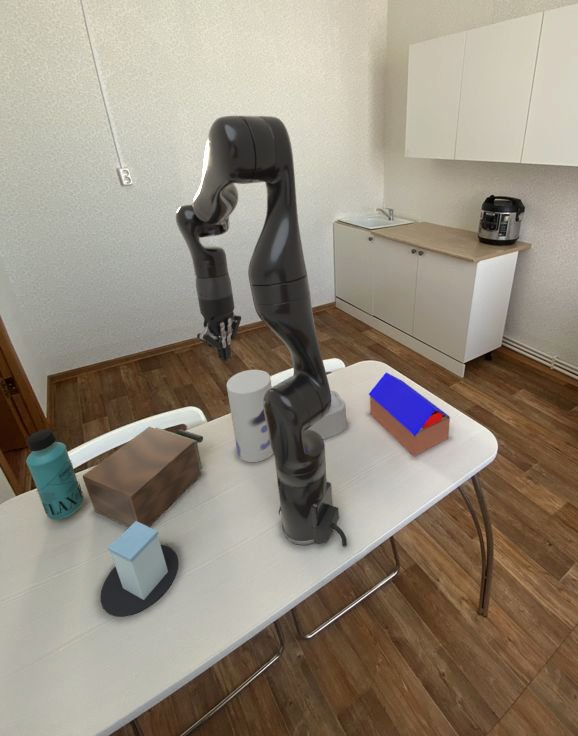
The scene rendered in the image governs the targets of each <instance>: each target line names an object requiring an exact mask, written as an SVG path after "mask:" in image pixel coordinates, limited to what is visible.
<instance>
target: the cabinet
mask: <svg viewBox="0 0 578 736" xmlns="http://www.w3.org/2000/svg"><path fill="white" fill-rule="evenodd" d="M155 428H156V427H152V426H148V427H147V428H145V429H143V430H142V431H141V432H140V433H139V434H137V435H136V436H134V437H133V438H132V439H130V440H129V441H127V442H126V443H125V444H124V445H122V446H121V447H120V448H118V449H117V450H115V451H114V452H112V453H111V454H110V455H109V456H107V457H106V458H104V459H103V460H102V461H100V462H99V463H98V464H96V465H95V466H94V467H92V468H91V469H89V470H88V471H87V472H86V473H84V474H83V475H82V479H83V483H84V485H85V488H86V491H87V494H88V497H89V499H90V502H91V505H92V508H93V511H94V513H97V514H99V515H101V516H103V517H106V518H107V519H109V520H111V521H113V522H116V523H118V524H120V525H123V526H124V527H127V529H128V528H129V527H130V526H131V525H132V524H133V523H134V522H135V521H137V522H139V523H141V524H143V525H146V526H148V527H150V528H151V526H152V525H153V524H154V523H155V522H156V521H157V520H158V519H159V518H160V517H161V516H162V515H163V514H164V513H165V512H166V511H167V510H168V509H169V508H170V507H171V506H172V505H173V504H174V503H175V502H176V501H177V500H178V499H179V498H180V497H181V496H182V495H183V494H184V493H185V492H186V491H187V490H188V489H189V488H190V487H191V486H192V485H193V484H194V483H195V482H196V481H197V480H198V479H199V478H200V477H201V475H202V472H201V469H200V468H199V463H198V458H197V454H196V449H195V444H194V441H191V440H188V439H185V438H182V437H179V436H176V435H173V434H170V433H167V432H164V431H161V430H158V429H155Z"/></svg>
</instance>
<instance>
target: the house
mask: <svg viewBox="0 0 578 736" xmlns="http://www.w3.org/2000/svg"><path fill="white" fill-rule="evenodd" d="M368 395H369V414H370V416H371V417H372V418H374V419H375V420H376V421H377V422H378V423H379V425H381V426H382V427H383V428H384V430H386V431H387V432H388V433H389V434H390V435H391V436H392V437H393V438H395V441H397V442H398V443H399V444H400V445H402V447H403V448H405V450H407V452H408V453H409V454H411V455H412V456H413V457H416V456H419V455H420V454H423V453H424V452H426V451H428V450H429V449H432V448H434V447H436V446H438V445H440V444H441V443H443V442H445V441H447V440H448V439H449V434H450V420H451V416H450V415H449V414H447V413H446V412H445V411H444V410H442V409H441V408H439V407H438V406H436V404H434V403H433V402H431V401H430V400H429V399H427V398H426V397H424V395H422V394H421V393H419V392H418V391H417V390H415V389H414V388H412V387H411V386H410V385H409V384H407V383H406V382H405V381H404V380H402V379H400V378H398V377H396V376H395V375H392V374H391V373H389V372H385V373H384V374H383V375H382V377H381V378H380V379H379V380H378V381H377V383H376V384H375V385H374V386H373V388H372V389H371V391H370V392H369V393H368Z"/></svg>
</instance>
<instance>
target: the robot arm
mask: <svg viewBox="0 0 578 736" xmlns="http://www.w3.org/2000/svg"><path fill="white" fill-rule="evenodd" d="M205 144H206V145H205V150H204V158H203V167H202V174H201V175H202V176H201V182H200V185H199V188H198V189H197V192H196V194H195V196H194V198H193V201H192V204H184V205H181V206H179V207H178V209H177V210H176V213H175V223H176V226H177V228H178V230H179V232H180V234H181V236H182V238H183V240H184V242H185V244H186V246H187V248H188V251H189V254H190V257H191V260H192V265H193V270H194V271H193V272H194V277H195V289H196V295H197V300H198V306H199V311H200V312H199V313H200V314H201V316H202V317H203V327H204V328H203V330H202V332H198V333H197V334H196V338H197V339H199V340H200V341H201V342H202V343H203V344H205V345H206V346H207V347H209V348H213V349H216V350H217V356H218V359H219V360H220V361H224V362H227V361H228V360H230V359H231V358H232V349H231V344H232V341H233V340H235V339H236V337H237V333H238V330H239V327H240V324H241V321H242V316H241V315H237V314H235V313H234V310H235V302H234V300H235V299H234V295H233V287H232V280H231V277H230V274H229V267H228V260H227V259H228V258H227V254H226V251H225V249H224V248H223V247H221V246H216V245H205V244H202V242H201V238H202V239H203V238H209V237H217V236H221V235H224V234H226V233H227V232H228V231H229V229H230V225H231V222H230V216H231V215H232V213H234V211H235V209H236V208H237V206H238V202H239V191H238V188H237V186H236V184H239V185H248V184H259V183H265V189H266V212H265V213H266V214H265V218H264V222H263V226H262V228H261V231H260V234H259V236H258V239H257V242H256V244H255V246H254V249H253V252H252V254H251V257H250V260H249V264H248V270H247V276H248V281H249V282H248V283H249V288H250V292H251V297H252V302H253V306H254V309H255V312H256V314H257V316H258V318H259V319H260V321H262V323H263V324H264V325H265V326H266V327H267V328H268V329H269V330H270V331H271V332H272V333H273V334H274V335H275V336H276V337H277V338H278V339H279V340H280V341H282V343H283V344H284V346H285V347H286V348H287V350H288V352H289V355H290V358H291V362H292V368H293V375H291V376H289V377H288V378H286V379H284V380H282V381H281V382H279V383H277V384H275V385H274V386H272V388H270V389H269V390H268V391H267V392H266V393H265V395H264V400H263V408H264V415H265V420H266V425H267V430H268V436H269V441H270V445H271V448H272V451H273V453H274V454H273V456H274V461H275V462H274V463H275V471H276V480H277V488H278V496H279V498H278V499H279V505H280V506H279V509H278V515H280V514H281V523H282V532H283V535H284V536H285V538H286V539H287V540H288V541H289V542H291V543H292V544H294V545H298V546H307V545H308V546H309V545H312V544H317V545H320V544H321V543H322V542H323V543H328V541H329V539H330V536H331V534H332V532H333V531H335V532H336V533H337V534H338V535H339V536H340V539H341V543H342V544H341V545H342V547H346V546H347V545H348V544H347V536H346V534H345V532H344V531H343V530H342V529H341V528H340V526H338V525H337V522H338V521H339V519H340V517H339V516H340V514H339V513H340V512H339V507H337V506H334V505H333V490H332V488H333V487H332V483H331V482H330V481H328V475H327V462H326V461H327V459H326V445H325V439H323V438H322V437H321V435H320V434H319V433H317V432H316V431H314V430H311V429H308V428H309V427H311V426H312V425H314V424H315V423H316V422H318V421H319V420H321V419H322V418H323V417H324V416H325V415H326V414H327V413H328V412H329V410H330V408H331V392H330V391H331V387H330V383H329V379H328V375H327V371H326V368H325V364H324V360H323V357H322V353H321V349H320V345H319V340H318V335H317V330H316V324H315V318H314V312H313V305H312V298H311V290H310V289H311V288H310V284H309V277H308V271H307V266H306V261H305V257H304V250H303V243H302V238H301V230H300V223H299V216H298V215H299V214H298V205H297V204H298V202H297V191H296V190H297V188H296V175H295V164H294V154H293V148H292V142H291V138H290V135H289V132H288V129H287V127H286V125H285V122H284V121H282V120H281V119H280V118H278V117H277V116H272V115H271V116H270V115H224V116H220V117H218V118H216V119H214V121H213V122H212V124H211V126H210V127H209V131H208V134H207V138H206V143H205Z"/></svg>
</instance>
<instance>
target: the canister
mask: <svg viewBox="0 0 578 736" xmlns="http://www.w3.org/2000/svg"><path fill="white" fill-rule="evenodd" d="M160 544H161V541H160V538H159V530H156V529H154V528H152V527H151V526H150V527H148V526H146V525H143V524H141V523H139V522H137V521H135V522H134V523H133V524H132V525H131V526H130V527H129V528H128V527H127V529H126V530H125V531H124V532H123V533H121V535H120V536H119V537H117V538H116V540H115V541H113V542H112V543H111V544H110V545H109V546H108V547H107V549H108V550H107V551H108V552H109V553H110V555H111V558H112V561H113V564H114V567H116V569H117V572H118V575H119V578H120V581H121V584H122V587H123V589H125V590H127V591H129V592H130V593H132V594H134V595H136V596H137V597H139V598H141V599H143V600H144V599H145V598H146V597H147V596H148V595H149V594H150V592H151V591H152V590H153V589H154V588H155V586H156V585H157V584H158V583H159V582H160V581H161V579H162V578H163V577H164V576H165V575H166V574H167V572H168V570H167V566H166V563H165V559H164V555H163V552H162V548H161V545H162V544H161V545H160Z"/></svg>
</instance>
